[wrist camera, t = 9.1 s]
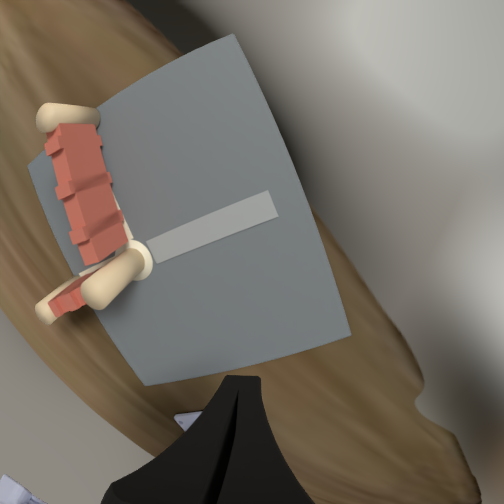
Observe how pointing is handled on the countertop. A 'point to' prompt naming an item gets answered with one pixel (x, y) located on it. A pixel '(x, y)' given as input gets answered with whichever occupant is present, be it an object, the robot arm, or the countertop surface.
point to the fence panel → (82, 179)
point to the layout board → (205, 224)
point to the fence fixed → (92, 287)
